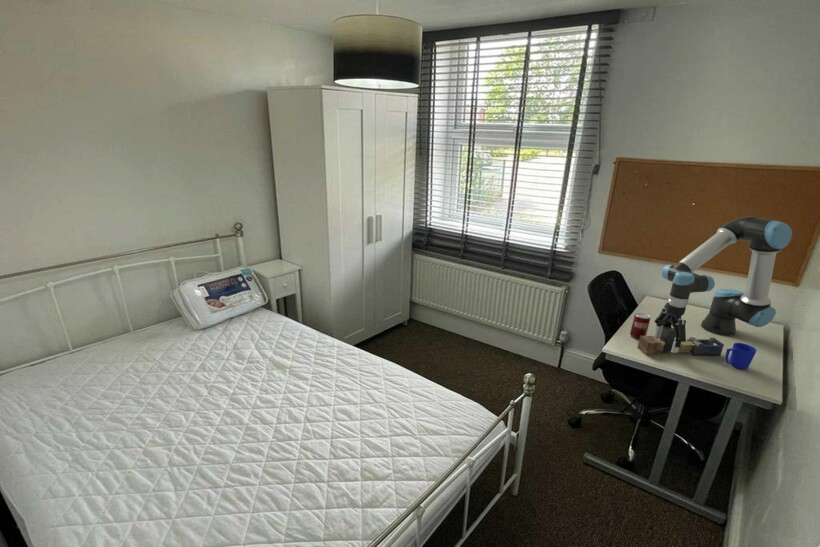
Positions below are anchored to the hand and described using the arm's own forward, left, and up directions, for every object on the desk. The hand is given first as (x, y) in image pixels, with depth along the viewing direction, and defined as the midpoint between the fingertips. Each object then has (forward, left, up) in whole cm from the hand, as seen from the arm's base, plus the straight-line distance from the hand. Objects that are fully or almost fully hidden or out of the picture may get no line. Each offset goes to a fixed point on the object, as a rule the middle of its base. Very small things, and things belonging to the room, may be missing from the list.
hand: (665, 345), depth 192 cm
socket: (+8, 0, -4) cm, 9 cm away
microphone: (-10, -15, -4) cm, 18 cm away
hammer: (-4, 0, -2) cm, 4 cm away
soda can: (+4, -15, -4) cm, 16 cm away
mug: (-26, +12, -4) cm, 28 cm away
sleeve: (-19, 0, -4) cm, 19 cm away
